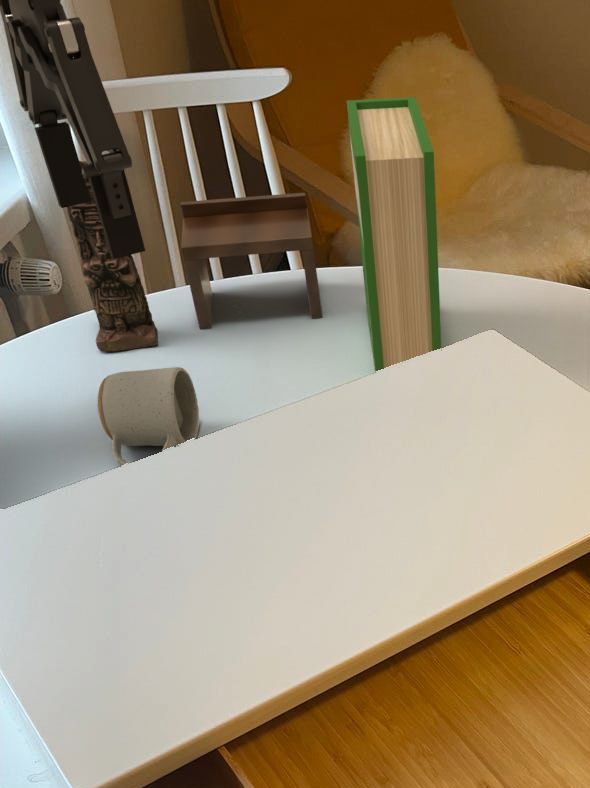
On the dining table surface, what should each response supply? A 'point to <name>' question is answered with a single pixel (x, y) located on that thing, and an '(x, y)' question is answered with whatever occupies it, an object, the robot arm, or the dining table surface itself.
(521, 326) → the dining table surface
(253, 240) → the wooden step stool
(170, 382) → the ceramic mug
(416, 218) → the hardback book
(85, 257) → the statue
